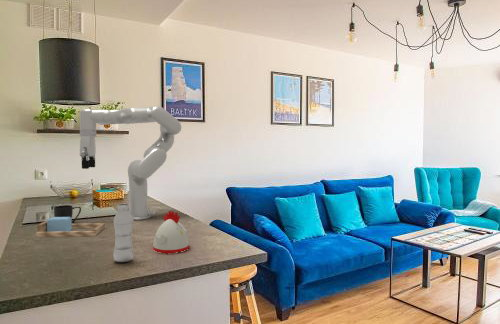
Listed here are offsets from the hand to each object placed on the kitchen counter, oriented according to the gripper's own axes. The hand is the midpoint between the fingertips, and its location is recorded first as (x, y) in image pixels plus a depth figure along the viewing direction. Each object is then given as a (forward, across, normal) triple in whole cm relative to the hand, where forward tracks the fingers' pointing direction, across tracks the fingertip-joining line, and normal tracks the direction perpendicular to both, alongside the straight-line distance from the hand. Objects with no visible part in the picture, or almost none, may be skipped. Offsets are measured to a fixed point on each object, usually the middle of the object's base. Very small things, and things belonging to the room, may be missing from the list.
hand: (88, 167), depth 181 cm
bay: (+28, +22, 0) cm, 36 cm away
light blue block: (+27, +22, -6) cm, 35 cm away
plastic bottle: (+28, +61, +31) cm, 74 cm away
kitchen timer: (+29, +47, +46) cm, 72 cm away
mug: (+28, +4, -9) cm, 30 cm away
